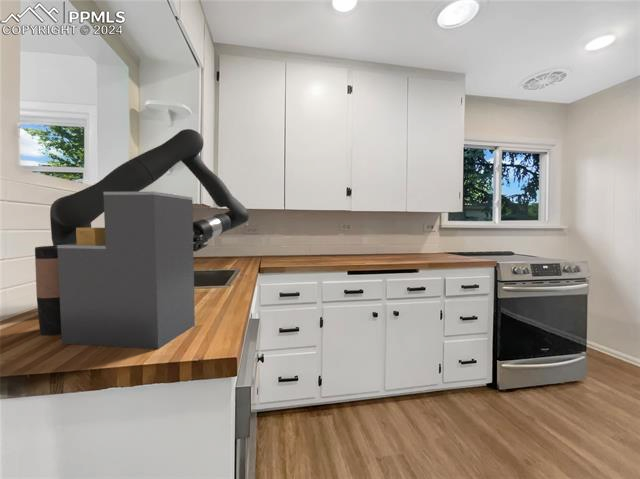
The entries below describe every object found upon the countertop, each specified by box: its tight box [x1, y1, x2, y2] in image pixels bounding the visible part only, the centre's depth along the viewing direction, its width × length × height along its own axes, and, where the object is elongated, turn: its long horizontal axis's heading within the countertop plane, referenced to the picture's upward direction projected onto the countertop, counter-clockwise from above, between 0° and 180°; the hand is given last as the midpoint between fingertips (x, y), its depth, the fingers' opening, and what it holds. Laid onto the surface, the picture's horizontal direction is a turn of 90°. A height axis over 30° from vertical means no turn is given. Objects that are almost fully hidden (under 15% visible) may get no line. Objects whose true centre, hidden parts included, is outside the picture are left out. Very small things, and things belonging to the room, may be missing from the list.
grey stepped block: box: [57, 191, 196, 350], centre depth 67 cm, size 22×14×32 cm, turn 84°
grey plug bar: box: [76, 227, 105, 245], centre depth 72 cm, size 4×22×4 cm, turn 174°
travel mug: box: [34, 245, 61, 336], centre depth 70 cm, size 8×8×20 cm
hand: (166, 244), depth 89 cm, fingers open, 8 cm apart
